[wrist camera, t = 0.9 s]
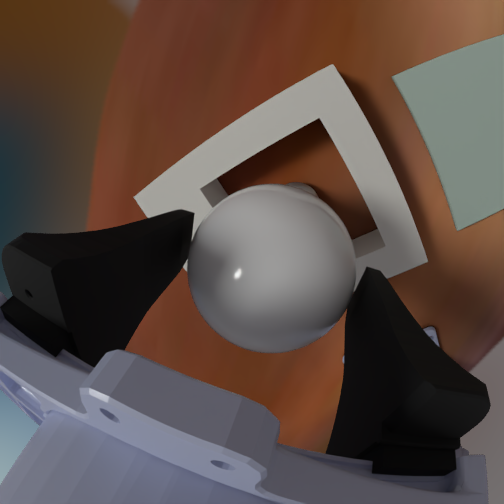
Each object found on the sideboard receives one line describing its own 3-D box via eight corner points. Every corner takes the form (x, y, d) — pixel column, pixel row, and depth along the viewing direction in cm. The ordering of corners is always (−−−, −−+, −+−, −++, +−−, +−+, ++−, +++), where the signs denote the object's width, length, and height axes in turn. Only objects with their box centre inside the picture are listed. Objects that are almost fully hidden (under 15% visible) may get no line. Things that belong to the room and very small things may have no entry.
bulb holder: (419, 241, 17) (428, 261, 15) (243, 310, 24) (233, 331, 21) (333, 68, 14) (332, 63, 12) (154, 185, 20) (133, 197, 18)
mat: (551, 179, 12) (554, 181, 11) (455, 228, 16) (457, 231, 16) (502, 34, 9) (505, 33, 8) (391, 76, 13) (392, 76, 13)
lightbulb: (328, 133, 16) (314, 190, 6) (363, 231, 18) (376, 375, 9) (231, 171, 18) (122, 261, 9) (272, 257, 21) (214, 391, 11)
